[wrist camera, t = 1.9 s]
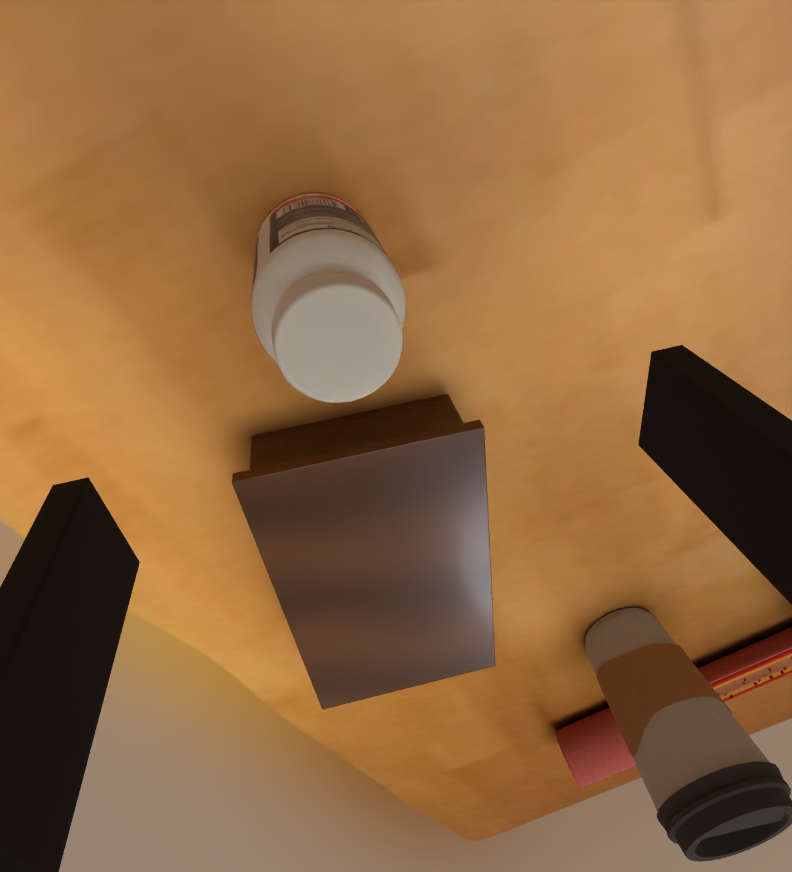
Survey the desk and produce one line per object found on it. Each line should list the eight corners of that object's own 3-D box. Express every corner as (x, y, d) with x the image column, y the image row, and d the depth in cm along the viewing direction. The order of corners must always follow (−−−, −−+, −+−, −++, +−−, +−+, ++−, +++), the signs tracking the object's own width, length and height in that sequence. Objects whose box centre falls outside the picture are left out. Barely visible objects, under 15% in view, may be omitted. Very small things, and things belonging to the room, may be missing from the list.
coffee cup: (650, 653, 49) (774, 848, 37) (562, 668, 48) (661, 875, 36) (677, 590, 45) (830, 790, 32) (581, 605, 43) (702, 819, 31)
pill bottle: (340, 331, 27) (369, 445, 19) (234, 279, 25) (217, 384, 17) (398, 231, 25) (458, 312, 17) (288, 164, 23) (298, 221, 15)
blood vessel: (987, 529, 48) (1053, 572, 44) (978, 561, 51) (1039, 605, 47) (549, 722, 53) (572, 777, 49) (563, 742, 56) (586, 796, 52)
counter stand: (236, 428, 29) (231, 482, 25) (458, 381, 30) (484, 426, 26) (317, 651, 40) (322, 709, 37) (475, 612, 41) (495, 666, 38)
